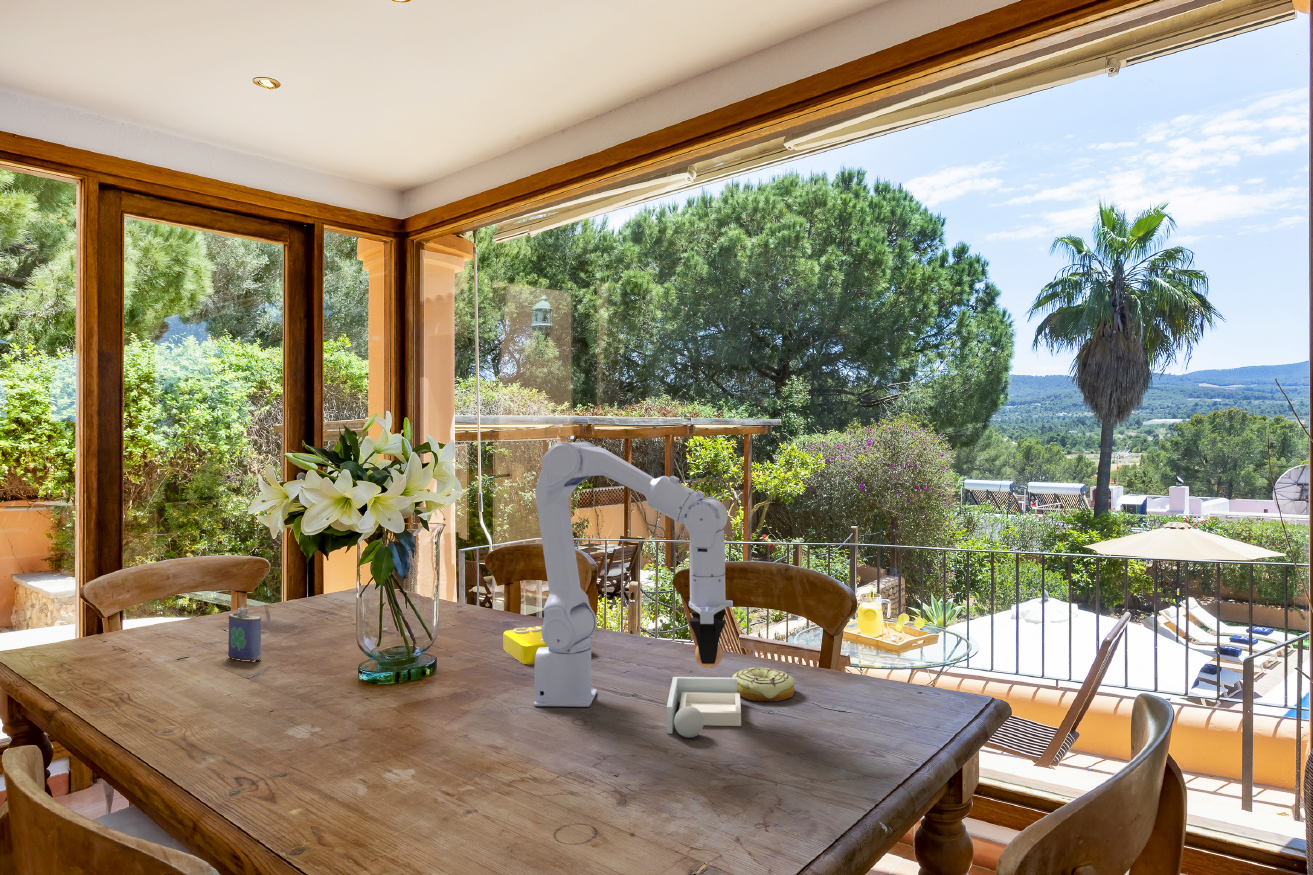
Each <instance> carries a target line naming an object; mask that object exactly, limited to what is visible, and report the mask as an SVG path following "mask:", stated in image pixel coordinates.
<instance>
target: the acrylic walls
mask: <svg viewBox="0 0 1313 875" xmlns="http://www.w3.org/2000/svg"><path fill="white" fill-rule="evenodd" d="M671 680H672V682H671V684H670V689H669V694H668V699H667V703H666V734H667V735H669V734H670V735H671V734H673V731H674V727H675V725H674V719H675V715H676V713H677V709H678V708H677V707H678V703H680V701H681V695H682V692H715V693H737V678H732V677H721V676H720V677H714V676H711V677H708V676H706V677H705V676H672V679H671Z"/></svg>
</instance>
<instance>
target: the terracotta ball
mask: <svg viewBox="0 0 1313 875" xmlns="http://www.w3.org/2000/svg"><path fill="white" fill-rule="evenodd" d="M694 658H695V659H696V662H697V663H698V665H699V666H701V667H702V668H705V669H715V668H716V667H718V665H720V663H721V662H722V659H723V649H722V647H721V645H720V644H719V643H718V650H717V656H716V661H715V664H702V662H701V659H700V654H699V649H698V645H697V646H696V648H695V651H694Z"/></svg>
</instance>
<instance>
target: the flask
mask: <svg viewBox="0 0 1313 875" xmlns="http://www.w3.org/2000/svg"><path fill="white" fill-rule="evenodd" d="M248 611H249V607H238V608H237V612H233V613H230V614H229V615H228V640H227V641H228V652H227V657H228V656H229V657H230V658H234V659H240V660H250V661H254V660H257V661H258V660H259V661H260V659H261V660H262V625H261V624H262V623H261V622H262V617H261V616H256V615H248Z"/></svg>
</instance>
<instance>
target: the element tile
mask: <svg viewBox="0 0 1313 875" xmlns="http://www.w3.org/2000/svg"><path fill="white" fill-rule="evenodd" d="M541 629H542V625H537V626H529V627H515V628H514V629H507V630H504V632H503V634H502V639H503V640H502V644H503V646H502V647H503V649H504V650H505V651H506V652H507V653H509V654H510V655H512V656H513V657H514V658H515V659H517V660H519V661H520V662H522V663H524V664H534V663H535V656H536V652H537V650H538V648H541V647H548V646H547V645H546V644H545V642H544V640H543V638H542V633H541ZM503 649H502V650H503ZM507 653H506V654H507ZM510 655H509V656H510ZM513 657H512V658H513ZM514 658H513V659H514ZM515 659H514V660H515ZM517 660H516V661H517ZM520 662H519V663H520ZM524 664H523V665H524Z"/></svg>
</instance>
